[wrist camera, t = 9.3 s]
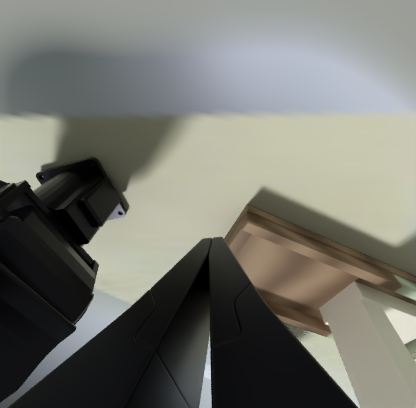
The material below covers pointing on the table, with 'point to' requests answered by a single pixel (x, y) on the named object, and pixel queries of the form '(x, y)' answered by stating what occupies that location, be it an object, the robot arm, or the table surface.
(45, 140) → the table surface
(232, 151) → the table surface
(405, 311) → the white block
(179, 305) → the robot arm
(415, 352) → the rail track
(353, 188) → the table surface
